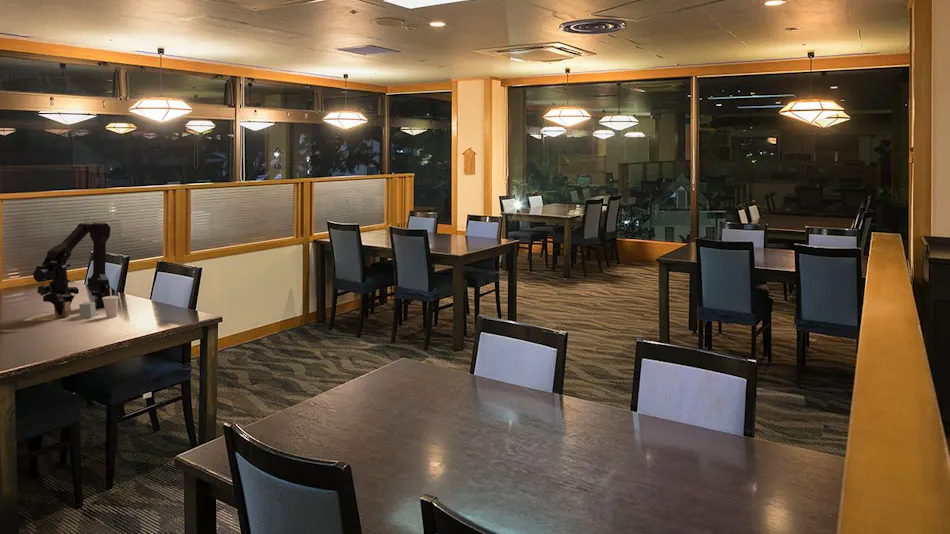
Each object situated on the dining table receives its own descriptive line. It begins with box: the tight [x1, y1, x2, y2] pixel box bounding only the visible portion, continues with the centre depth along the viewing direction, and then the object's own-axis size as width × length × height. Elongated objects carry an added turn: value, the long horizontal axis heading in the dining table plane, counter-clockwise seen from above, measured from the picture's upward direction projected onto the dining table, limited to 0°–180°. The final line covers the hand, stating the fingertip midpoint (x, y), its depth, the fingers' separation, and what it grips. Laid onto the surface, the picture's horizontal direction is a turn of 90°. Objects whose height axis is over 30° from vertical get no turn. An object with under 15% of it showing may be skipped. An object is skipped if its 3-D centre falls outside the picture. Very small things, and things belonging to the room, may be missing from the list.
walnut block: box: [53, 301, 72, 317], centre depth 310 cm, size 4×4×6 cm
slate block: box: [78, 301, 97, 319], centre depth 311 cm, size 4×4×6 cm
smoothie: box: [102, 286, 119, 319], centre depth 310 cm, size 6×6×14 cm
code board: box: [22, 313, 100, 322], centre depth 311 cm, size 27×12×1 cm, turn 93°
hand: (63, 313), depth 310 cm, fingers closed on walnut block, 4 cm apart
